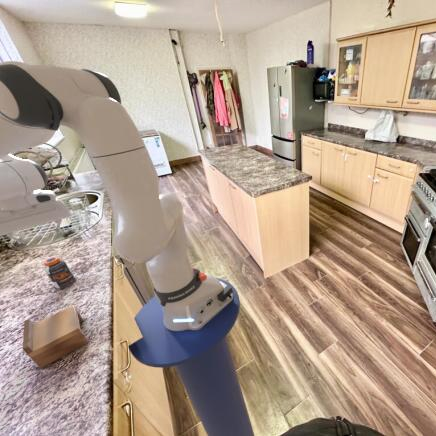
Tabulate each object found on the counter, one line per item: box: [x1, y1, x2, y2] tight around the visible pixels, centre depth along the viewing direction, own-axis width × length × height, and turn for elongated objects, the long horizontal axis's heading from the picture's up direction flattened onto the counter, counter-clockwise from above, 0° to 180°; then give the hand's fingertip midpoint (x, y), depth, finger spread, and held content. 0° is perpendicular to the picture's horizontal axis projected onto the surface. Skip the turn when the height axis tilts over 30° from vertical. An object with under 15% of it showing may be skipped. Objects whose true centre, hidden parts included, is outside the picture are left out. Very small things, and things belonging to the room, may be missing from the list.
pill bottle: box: [43, 256, 76, 289], centre depth 87 cm, size 6×6×11 cm
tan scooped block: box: [22, 304, 89, 369], centre depth 65 cm, size 10×12×8 cm
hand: (41, 236), depth 81 cm, fingers open, 8 cm apart
